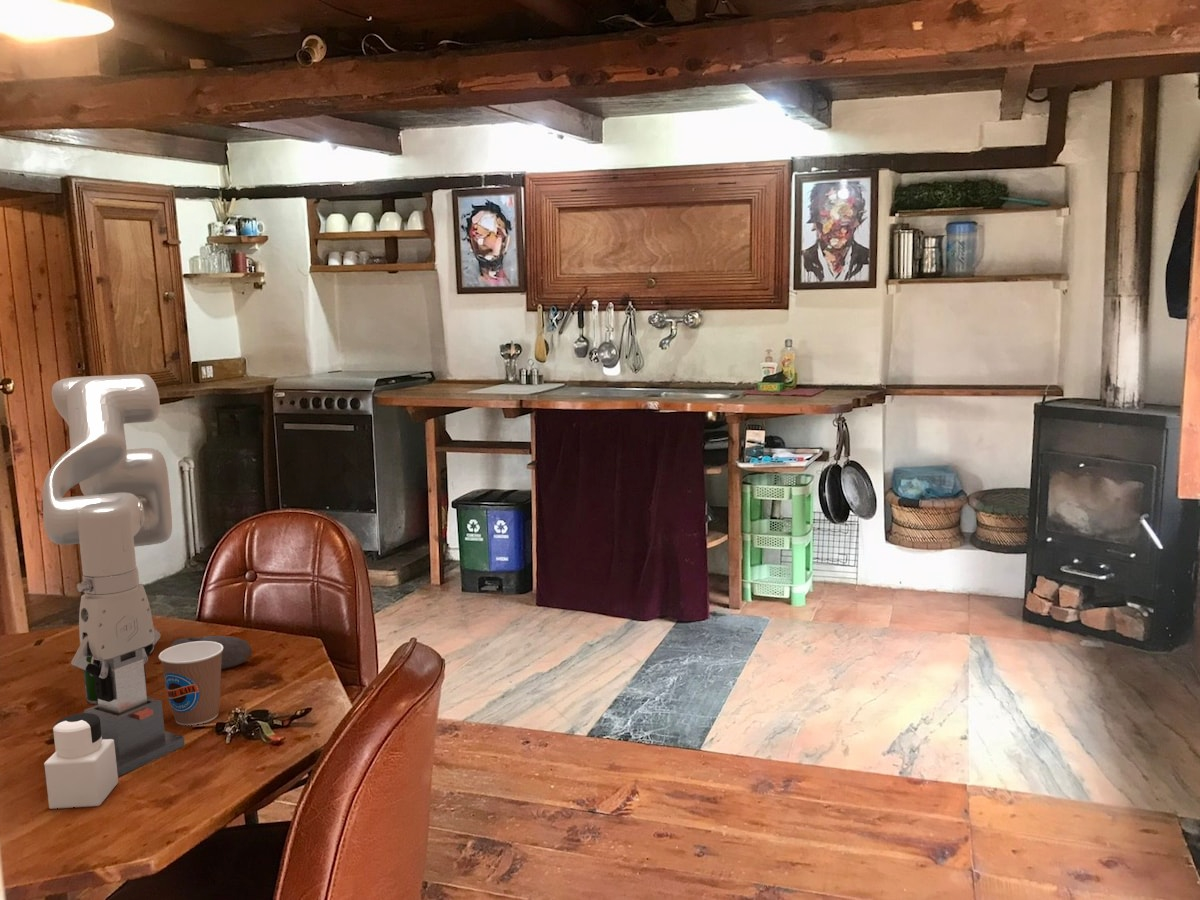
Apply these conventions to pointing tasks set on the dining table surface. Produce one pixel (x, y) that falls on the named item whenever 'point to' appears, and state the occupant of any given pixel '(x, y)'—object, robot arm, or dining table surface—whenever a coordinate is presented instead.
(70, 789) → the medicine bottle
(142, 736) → the base
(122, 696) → the jack column
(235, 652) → the perforated stone tool
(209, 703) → the coffee cup
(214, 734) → the dining table surface
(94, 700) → the beer can
